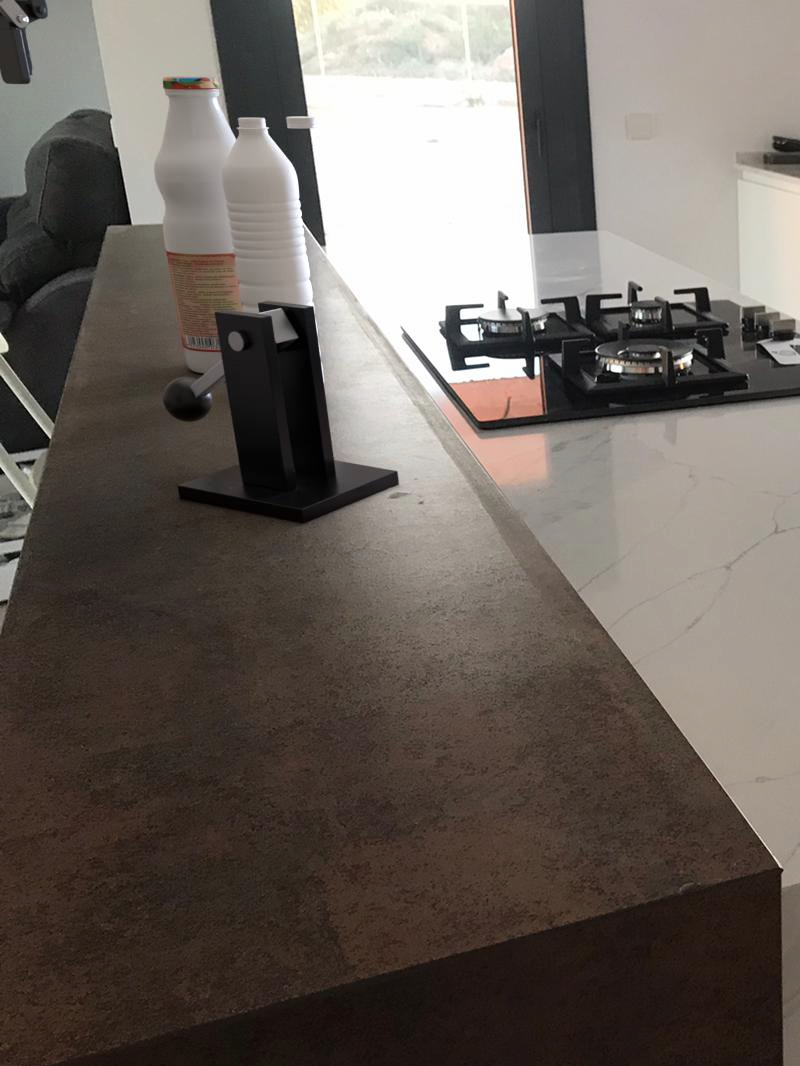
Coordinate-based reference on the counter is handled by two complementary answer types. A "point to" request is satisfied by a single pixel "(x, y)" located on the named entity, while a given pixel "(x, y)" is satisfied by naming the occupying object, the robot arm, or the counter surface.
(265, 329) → the tap bracket
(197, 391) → the lever with ball knob
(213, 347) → the fruit juice
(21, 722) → the counter surface
